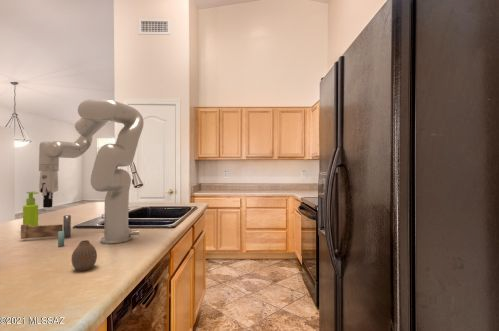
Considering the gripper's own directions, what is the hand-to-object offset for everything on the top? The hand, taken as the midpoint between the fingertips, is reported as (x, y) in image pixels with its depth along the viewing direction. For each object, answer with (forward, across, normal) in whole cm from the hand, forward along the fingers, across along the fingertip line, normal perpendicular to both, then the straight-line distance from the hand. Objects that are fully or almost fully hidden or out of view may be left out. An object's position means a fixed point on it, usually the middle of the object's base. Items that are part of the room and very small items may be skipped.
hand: (47, 207), depth 127 cm
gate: (+12, -6, 0) cm, 14 cm away
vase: (+12, -52, -27) cm, 60 cm away
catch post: (+13, -22, -12) cm, 28 cm away
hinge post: (+13, -6, -10) cm, 18 cm away
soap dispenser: (+14, +12, +10) cm, 21 cm away
